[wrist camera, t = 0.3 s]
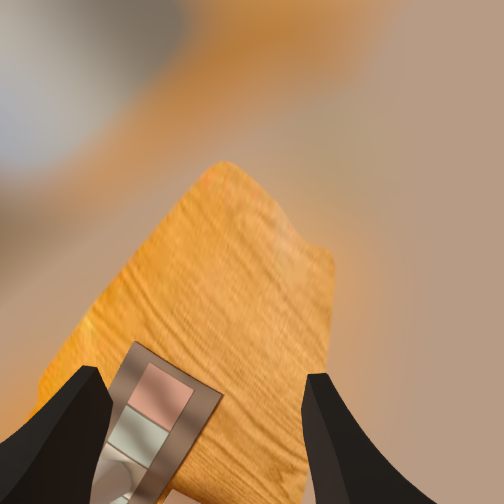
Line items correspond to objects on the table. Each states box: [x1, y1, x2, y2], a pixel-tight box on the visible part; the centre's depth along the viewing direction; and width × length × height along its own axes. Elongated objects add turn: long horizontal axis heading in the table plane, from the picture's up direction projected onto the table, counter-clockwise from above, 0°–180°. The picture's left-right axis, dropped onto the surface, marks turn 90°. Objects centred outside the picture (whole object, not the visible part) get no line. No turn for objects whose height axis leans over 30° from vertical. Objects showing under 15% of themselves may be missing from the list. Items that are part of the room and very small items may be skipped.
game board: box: [99, 341, 222, 504], centre depth 33 cm, size 37×13×1 cm, turn 151°
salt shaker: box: [90, 459, 132, 504], centre depth 27 cm, size 6×6×13 cm
